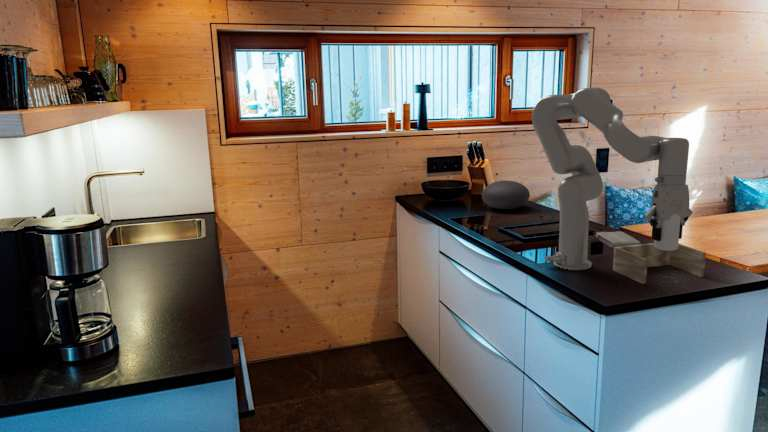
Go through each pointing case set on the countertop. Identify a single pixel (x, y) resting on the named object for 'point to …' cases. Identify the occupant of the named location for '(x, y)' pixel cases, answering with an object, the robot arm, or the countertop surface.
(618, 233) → the washcloth
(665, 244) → the can
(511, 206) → the flattened ellipsoid
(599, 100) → the robot arm
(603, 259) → the countertop surface
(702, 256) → the wooden u-shaped stand
